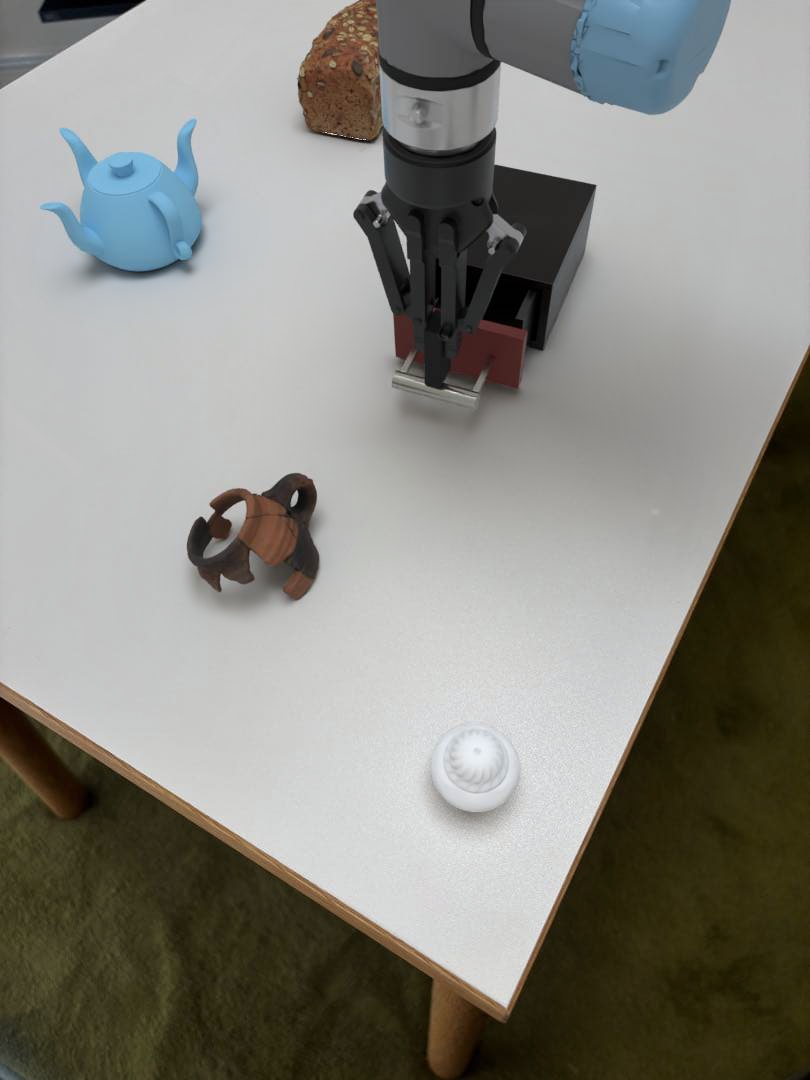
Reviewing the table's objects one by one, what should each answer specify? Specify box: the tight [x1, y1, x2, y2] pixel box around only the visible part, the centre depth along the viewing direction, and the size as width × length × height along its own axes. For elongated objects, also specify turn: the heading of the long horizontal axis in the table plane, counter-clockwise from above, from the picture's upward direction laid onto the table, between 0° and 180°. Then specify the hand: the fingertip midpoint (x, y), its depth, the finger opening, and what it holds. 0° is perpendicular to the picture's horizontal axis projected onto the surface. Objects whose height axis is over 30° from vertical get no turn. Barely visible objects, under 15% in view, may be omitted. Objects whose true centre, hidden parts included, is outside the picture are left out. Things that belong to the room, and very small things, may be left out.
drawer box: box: [436, 163, 597, 351], centre depth 84 cm, size 16×14×8 cm
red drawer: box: [391, 265, 542, 411], centre depth 79 cm, size 21×13×6 cm, turn 158°
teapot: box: [39, 118, 203, 272], centre depth 89 cm, size 15×15×10 cm
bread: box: [296, 0, 384, 141], centre depth 103 cm, size 19×11×10 cm, turn 160°
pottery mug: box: [186, 472, 320, 601], centre depth 68 cm, size 12×10×8 cm
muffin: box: [429, 721, 522, 813], centre depth 56 cm, size 6×6×7 cm
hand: (437, 375), depth 74 cm, fingers closed
